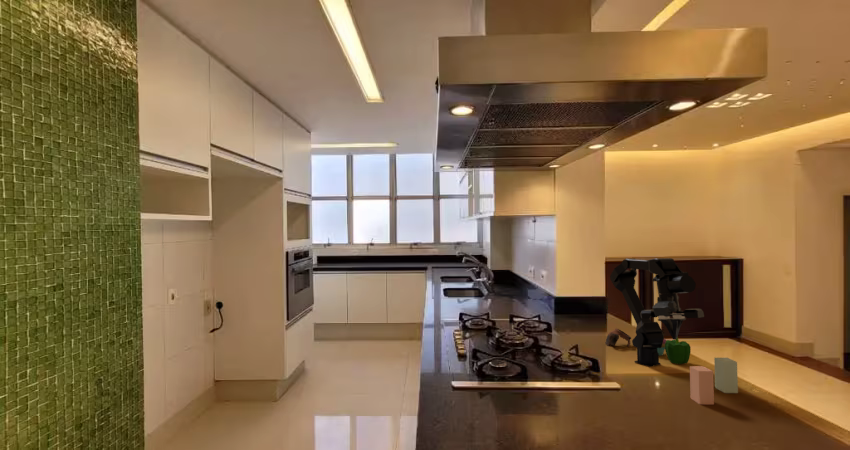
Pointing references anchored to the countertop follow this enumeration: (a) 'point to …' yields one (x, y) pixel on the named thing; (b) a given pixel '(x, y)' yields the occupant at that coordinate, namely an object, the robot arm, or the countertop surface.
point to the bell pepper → (677, 351)
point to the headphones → (617, 337)
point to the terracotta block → (701, 385)
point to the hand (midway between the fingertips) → (674, 339)
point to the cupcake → (662, 348)
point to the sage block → (726, 375)
